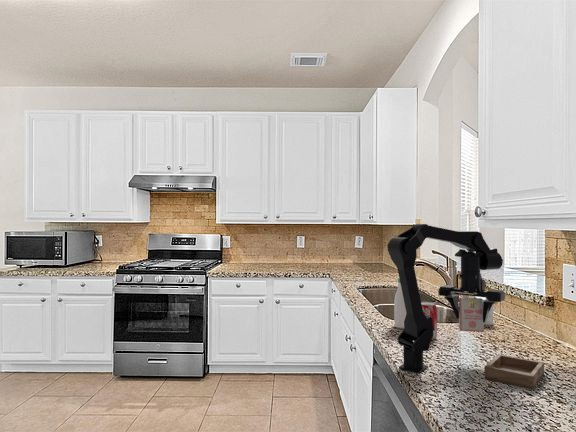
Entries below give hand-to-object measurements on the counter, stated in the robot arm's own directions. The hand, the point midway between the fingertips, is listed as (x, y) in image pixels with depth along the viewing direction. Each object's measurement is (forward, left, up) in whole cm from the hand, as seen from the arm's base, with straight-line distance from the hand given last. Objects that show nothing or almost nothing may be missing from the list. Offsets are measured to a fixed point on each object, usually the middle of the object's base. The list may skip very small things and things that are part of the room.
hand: (471, 320), depth 137 cm
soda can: (+16, +21, -13) cm, 29 cm away
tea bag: (0, 0, -3) cm, 3 cm away
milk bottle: (+26, +35, -13) cm, 45 cm away
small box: (+53, +12, -13) cm, 56 cm away
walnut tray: (-7, -14, -12) cm, 20 cm away
